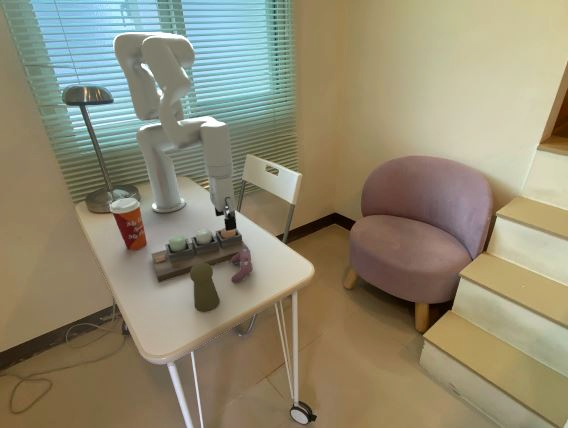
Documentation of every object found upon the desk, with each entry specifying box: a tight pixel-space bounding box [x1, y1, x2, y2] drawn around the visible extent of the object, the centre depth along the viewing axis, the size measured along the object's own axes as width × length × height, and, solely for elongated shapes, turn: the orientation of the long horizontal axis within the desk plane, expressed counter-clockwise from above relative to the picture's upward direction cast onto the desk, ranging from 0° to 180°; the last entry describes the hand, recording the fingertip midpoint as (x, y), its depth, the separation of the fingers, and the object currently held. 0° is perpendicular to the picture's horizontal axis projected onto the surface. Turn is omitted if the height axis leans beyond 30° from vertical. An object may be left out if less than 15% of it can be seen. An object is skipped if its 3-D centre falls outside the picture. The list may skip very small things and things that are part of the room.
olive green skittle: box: [189, 263, 221, 313], centre depth 74 cm, size 6×6×11 cm
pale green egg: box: [168, 235, 187, 253], centre depth 90 cm, size 4×4×3 cm
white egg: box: [194, 228, 212, 245], centre depth 93 cm, size 4×4×3 cm
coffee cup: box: [109, 197, 148, 251], centre depth 97 cm, size 8×8×15 cm
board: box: [150, 228, 250, 284], centre depth 93 cm, size 12×26×4 cm, turn 117°
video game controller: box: [230, 248, 254, 284], centre depth 86 cm, size 10×5×7 cm, turn 10°
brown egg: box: [220, 227, 236, 239], centre depth 97 cm, size 4×4×3 cm
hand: (225, 222), depth 95 cm, fingers open, 9 cm apart
